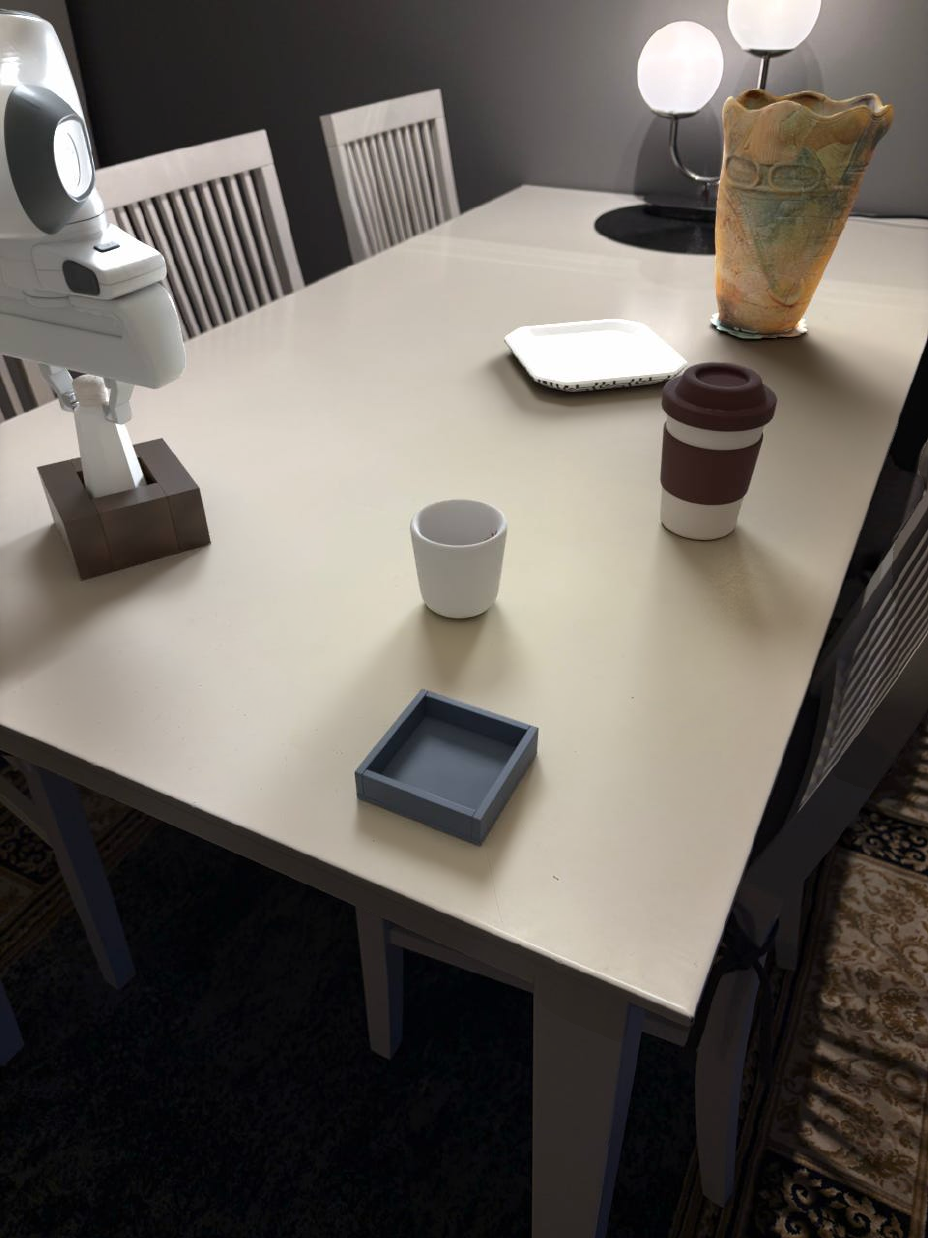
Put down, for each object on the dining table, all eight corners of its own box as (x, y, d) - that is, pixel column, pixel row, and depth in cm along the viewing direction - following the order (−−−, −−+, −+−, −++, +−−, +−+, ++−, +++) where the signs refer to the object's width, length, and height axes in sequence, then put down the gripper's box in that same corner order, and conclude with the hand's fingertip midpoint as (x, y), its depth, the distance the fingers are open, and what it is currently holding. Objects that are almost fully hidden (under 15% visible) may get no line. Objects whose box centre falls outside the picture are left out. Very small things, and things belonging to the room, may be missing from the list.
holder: (81, 580, 81) (62, 522, 78) (54, 521, 90) (36, 466, 86) (211, 543, 86) (199, 487, 83) (174, 490, 95) (162, 437, 91)
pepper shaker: (74, 497, 84) (40, 383, 78) (117, 473, 88) (88, 362, 82) (117, 511, 82) (87, 395, 76) (159, 485, 86) (134, 373, 79)
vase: (869, 341, 128) (935, 97, 110) (744, 358, 123) (792, 105, 105) (782, 295, 144) (827, 76, 126) (668, 309, 139) (698, 83, 121)
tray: (356, 797, 61) (353, 771, 59) (422, 713, 67) (421, 688, 66) (480, 847, 58) (480, 820, 56) (537, 753, 64) (538, 727, 63)
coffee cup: (676, 487, 95) (698, 346, 86) (766, 518, 90) (799, 372, 80) (626, 526, 88) (644, 378, 79) (720, 561, 83) (750, 408, 74)
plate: (696, 386, 115) (699, 370, 114) (540, 402, 112) (541, 385, 110) (635, 331, 131) (637, 316, 130) (497, 343, 128) (497, 328, 126)
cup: (408, 561, 84) (404, 484, 79) (494, 555, 84) (495, 478, 80) (416, 632, 75) (412, 551, 70) (511, 625, 76) (514, 544, 71)
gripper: (-69, 246, 74) (-15, 407, 82) (123, 280, 66) (161, 452, 75) (-5, 229, 78) (40, 382, 87) (181, 258, 71) (210, 423, 79)
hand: (97, 415), depth 81 cm, fingers closed on pepper shaker, 4 cm apart
